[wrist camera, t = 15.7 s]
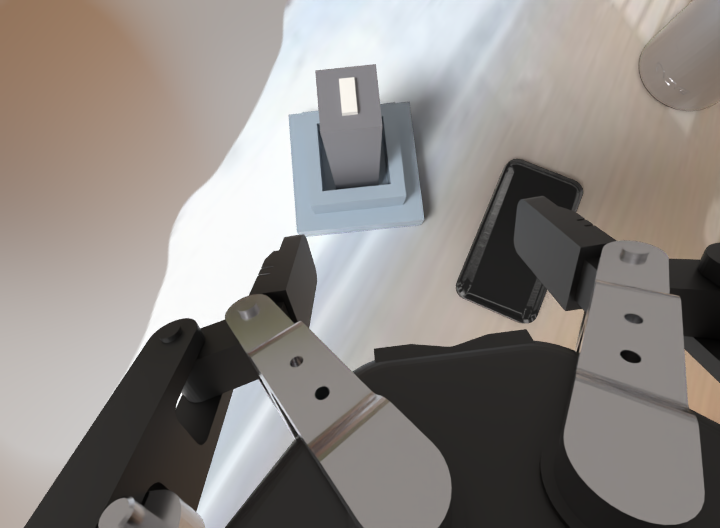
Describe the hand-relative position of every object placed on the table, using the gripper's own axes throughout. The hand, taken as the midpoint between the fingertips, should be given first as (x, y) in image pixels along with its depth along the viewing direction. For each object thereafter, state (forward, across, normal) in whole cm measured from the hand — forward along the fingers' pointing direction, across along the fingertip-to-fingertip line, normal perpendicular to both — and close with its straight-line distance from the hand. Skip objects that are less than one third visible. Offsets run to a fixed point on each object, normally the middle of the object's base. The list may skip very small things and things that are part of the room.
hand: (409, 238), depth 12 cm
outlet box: (+22, +3, +4) cm, 22 cm away
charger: (+20, +3, +2) cm, 20 cm away
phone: (+17, -12, +12) cm, 24 cm away
